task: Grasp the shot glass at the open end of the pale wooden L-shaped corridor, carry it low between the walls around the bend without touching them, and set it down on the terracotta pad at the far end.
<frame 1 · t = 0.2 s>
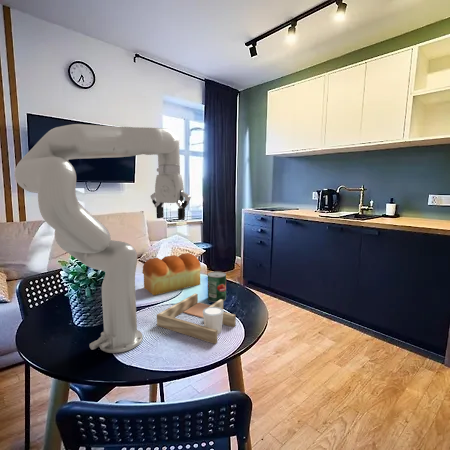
hand: (170, 218, 103), 36 cm above the table, tool pointing down, fingers open, 9 cm apart
shot glass: (213, 331, 95), on the table
corridor: (184, 322, 101), on the table
canned tomato: (217, 299, 122), on the table
bread: (172, 286, 138), on the table
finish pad: (201, 310, 110), on the table
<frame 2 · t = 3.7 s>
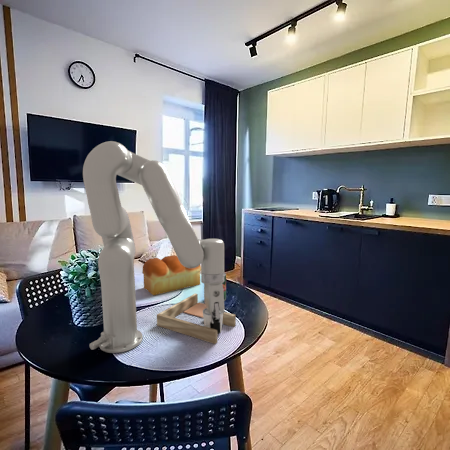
hand: (213, 328, 95), 1 cm above the table, tool pointing down, fingers closed on shot glass, 5 cm apart
shot glass: (213, 331, 95), on the table, touching gripper
everything else where it was.
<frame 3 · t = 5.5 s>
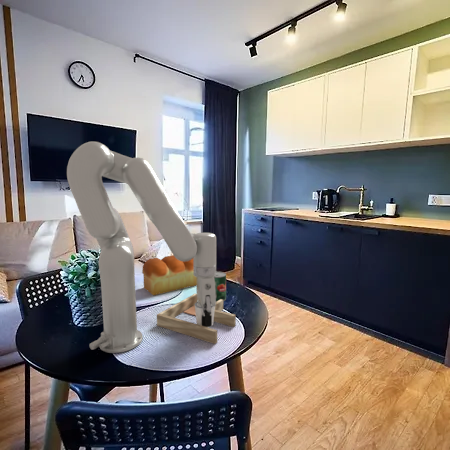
hand: (204, 321, 96), 2 cm above the table, tool pointing down, fingers closed on shot glass, 5 cm apart
shot glass: (204, 324, 96), point 2 cm above the table, touching gripper
everything else where it was.
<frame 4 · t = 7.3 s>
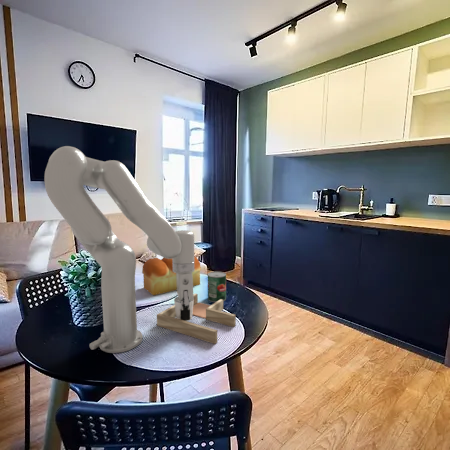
hand: (184, 315, 100), 2 cm above the table, tool pointing down, fingers closed on shot glass, 5 cm apart
shot glass: (184, 318, 100), point 2 cm above the table, touching gripper
everything else where it was.
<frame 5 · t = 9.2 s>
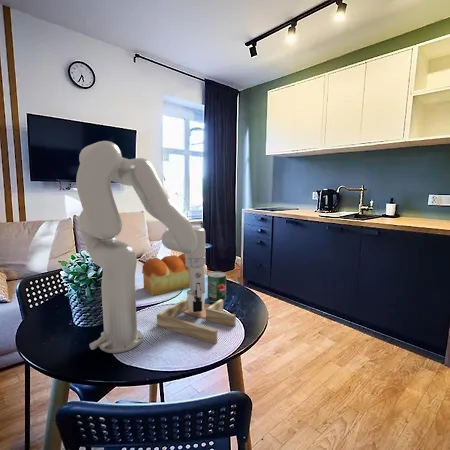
hand: (196, 307, 106), 3 cm above the table, tool pointing down, fingers closed on shot glass, 5 cm apart
shot glass: (196, 309, 106), point 2 cm above the table, touching gripper
everything else where it was.
when the fingers open (2 cm above the table, at t = 11.1 s): shot glass stays where it is, resting on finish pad.
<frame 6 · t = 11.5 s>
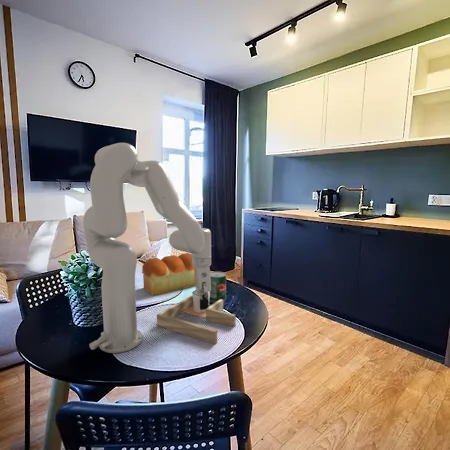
hand: (201, 303, 110), 3 cm above the table, tool pointing down, fingers open, 9 cm apart
shot glass: (201, 309, 110), resting on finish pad
everything else where it was.
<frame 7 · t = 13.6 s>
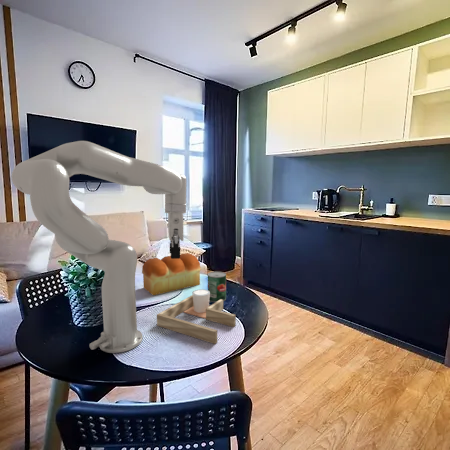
hand: (174, 255, 104), 23 cm above the table, tool pointing down, fingers open, 9 cm apart
nothing on the table moved.
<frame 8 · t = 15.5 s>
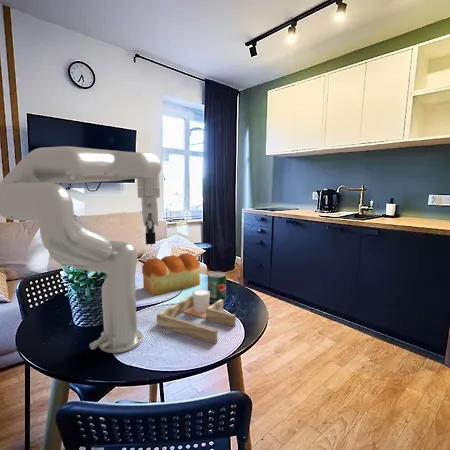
hand: (150, 241, 101), 28 cm above the table, tool pointing down, fingers open, 9 cm apart
nothing on the table moved.
at the end: shot glass 0.3 cm off-centre on the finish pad, point 0.2 cm above the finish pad's base; shot glass tilted 0°; shot glass touching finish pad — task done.
